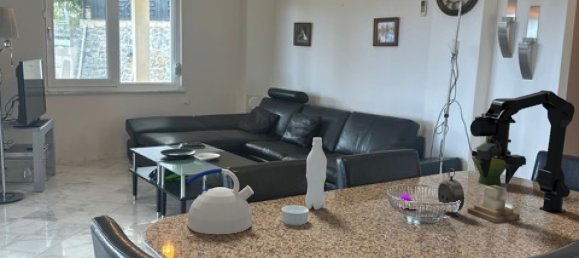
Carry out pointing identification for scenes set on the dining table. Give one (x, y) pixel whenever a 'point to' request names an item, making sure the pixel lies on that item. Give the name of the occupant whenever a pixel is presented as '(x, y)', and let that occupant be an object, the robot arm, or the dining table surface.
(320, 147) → the water bottle
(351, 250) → the dining table surface
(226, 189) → the kettle
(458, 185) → the alarm clock
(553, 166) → the robot arm
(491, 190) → the block
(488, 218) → the plinth
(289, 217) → the ramekin
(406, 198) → the crystal
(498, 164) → the vase
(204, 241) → the dining table surface
